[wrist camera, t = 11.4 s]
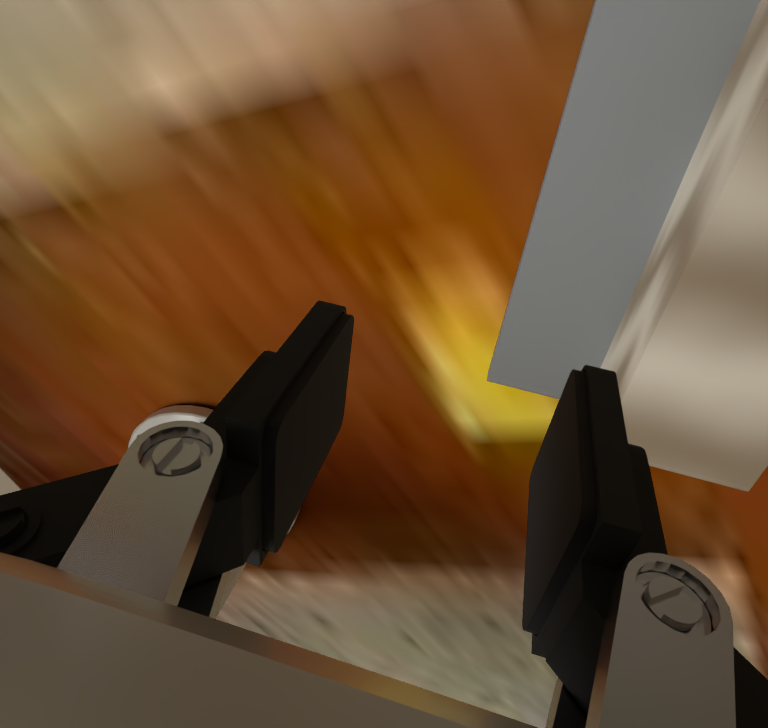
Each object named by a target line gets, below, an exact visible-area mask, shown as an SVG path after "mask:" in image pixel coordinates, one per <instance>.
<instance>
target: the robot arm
mask: <svg viewBox="0 0 768 728" xmlns="http://www.w3.org/2000/svg"><path fill="white" fill-rule="evenodd" d="M353 325H354V317H353V316H352V315H348V314H346V308H345V307H344V306H340V305H336V304H332V303H328V302H323V301H318V302H317V303H316V304H315V305H314V307H313V308H312V309H311V310H310V311H309V313H308V314H307V315H306V316H305V318H304V319H303V320H302V321H301V323H300V324H299V325H298V326H297V328H296V329H295V330H294V331H293V333H292V334H291V335H290V336H289V338H288V339H287V340H286V341H285V343H284V344H283V345H282V346H281V348H280V349H279V350H278V351H277V352H276V353H275V352H272V351H264V352H263V353H262V354H261V355H260V356H259V357H258V358H257V359H256V361H255V362H254V363H253V364H252V365H251V366H250V368H249V369H248V370H247V371H246V372H245V374H244V375H243V376H242V377H241V378H240V379H239V381H238V382H237V383H236V384H235V385H234V387H233V388H232V389H231V390H230V391H229V392H228V394H227V395H226V396H225V397H224V398H223V400H222V401H221V402H220V403H219V404H218V405H217V407H216V408H215V409H214V410H212V409H209V408H205V407H199V406H192V405H175V406H170V407H166V408H162V409H160V410H158V411H156V412H154V413H152V414H150V415H149V416H148V417H147V418H146V419H145V420H144V421H143V422H142V423H140V424H139V425H138V427H137V428H136V429H135V430H134V431H133V433H132V435H131V438H130V441H129V444H128V450H127V452H126V453H125V455H124V457H123V458H122V460H121V462H120V463H119V464H118V465H114V466H110V467H106V468H103V469H99V470H95V471H91V472H87V473H84V474H80V475H76V476H72V477H69V478H65V479H61V480H57V481H53V482H50V483H46V484H42V485H38V486H35V487H31V488H27V489H23V490H19V491H16V492H12V493H8V494H4V495H0V728H537V727H534V726H531V725H529V724H526V723H523V722H520V721H517V720H514V719H511V718H508V717H505V716H502V715H499V714H496V713H493V712H490V711H488V710H485V709H482V708H479V707H476V706H473V705H470V704H467V703H464V702H461V701H458V700H455V699H452V698H449V697H446V696H443V695H440V694H437V693H434V692H431V691H428V690H425V689H422V688H420V687H417V686H414V685H411V684H408V683H405V682H402V681H399V680H396V679H393V678H390V677H387V676H384V675H381V674H378V673H375V672H372V671H369V670H366V669H363V668H360V667H357V666H354V665H351V664H348V663H345V662H342V661H339V660H336V659H333V658H330V657H327V656H324V655H321V654H318V653H315V652H312V651H309V650H306V649H303V648H300V647H297V646H294V645H291V644H288V643H285V642H282V641H279V640H276V639H273V638H271V637H268V636H265V635H261V634H258V633H255V632H252V631H249V630H246V629H243V628H240V627H237V626H234V625H231V624H228V623H225V622H222V621H219V620H216V618H217V616H218V614H219V612H220V610H221V609H222V607H223V605H224V603H225V601H226V600H227V598H228V596H229V594H230V592H231V591H232V589H233V587H234V585H235V583H236V582H237V580H238V578H239V576H240V574H241V572H242V571H243V569H244V567H245V565H246V563H249V564H252V565H255V566H258V567H260V566H261V564H262V562H263V560H264V558H265V556H266V554H267V552H268V551H271V552H274V553H276V552H277V551H278V550H279V548H280V547H281V545H282V543H283V541H284V539H285V537H286V535H287V534H288V533H289V532H290V530H291V528H292V526H293V525H294V523H295V521H296V519H297V516H298V514H299V511H300V507H301V505H302V503H303V501H304V499H305V498H306V496H307V494H308V492H309V490H310V488H311V486H312V484H313V482H314V480H315V478H316V476H317V474H318V472H319V470H320V468H321V466H322V464H323V462H324V460H325V458H326V456H327V454H328V452H329V450H330V448H331V446H332V444H333V442H334V440H335V438H336V436H337V434H338V432H339V430H340V428H341V425H342V421H343V416H344V408H345V399H346V389H347V380H348V371H349V362H350V352H351V343H352V334H353ZM522 626H523V630H524V631H527V632H531V633H532V654H535V655H538V656H541V657H545V658H546V662H547V663H548V665H549V666H550V667H551V668H552V670H553V671H554V672H555V674H556V675H557V676H558V680H557V682H556V686H555V690H554V694H553V698H552V702H551V707H550V711H549V715H548V719H547V723H546V727H545V728H768V680H767V679H766V678H765V677H764V676H763V675H762V674H761V673H760V672H759V671H758V670H757V669H756V668H755V667H754V666H753V665H752V664H751V663H750V662H749V661H748V660H746V659H745V658H744V657H743V656H742V655H741V654H740V653H739V652H738V651H737V650H736V649H735V648H734V647H733V622H732V617H731V613H730V608H729V606H728V604H727V603H726V601H725V599H724V597H723V595H722V593H721V592H720V591H719V590H718V589H717V587H716V586H715V585H714V584H713V583H712V582H711V580H710V579H708V578H707V577H706V576H705V575H704V574H702V573H701V572H700V571H699V570H697V569H696V568H695V567H693V566H691V565H689V564H688V563H686V562H684V561H682V560H680V559H678V558H675V557H672V556H669V555H668V554H667V550H666V545H665V540H664V535H663V530H662V526H661V521H660V516H659V511H658V506H657V501H656V497H655V492H654V487H653V482H652V477H651V473H650V468H649V463H648V458H647V454H646V452H645V449H643V448H642V447H640V446H636V445H632V444H628V440H627V434H626V428H625V422H624V416H623V410H622V404H621V399H620V393H619V387H618V381H617V375H616V372H614V371H610V370H606V369H602V368H598V367H593V366H589V365H585V366H584V367H583V368H582V370H581V371H579V370H575V369H573V370H572V371H571V372H570V375H569V377H568V379H567V382H566V384H565V387H564V390H563V392H562V395H561V397H560V400H559V402H558V405H557V407H556V410H555V412H554V415H553V418H552V420H551V423H550V425H549V428H548V430H547V433H546V435H545V438H544V440H543V443H542V446H541V448H540V451H539V453H538V456H537V458H536V461H535V463H534V466H533V469H532V473H531V477H530V484H529V502H528V522H527V541H526V561H525V580H524V600H523V619H522Z"/></svg>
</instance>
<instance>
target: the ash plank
mask: <svg viewBox="0 0 768 728" xmlns="http://www.w3.org/2000/svg"><path fill="white" fill-rule="evenodd" d="M601 368H602V369H606V370H610V371H614V372H616V375H617V381H618V387H619V393H620V399H621V404H622V410H623V416H624V422H625V428H626V434H627V440H628V444H632V445H636V446H640V447H642V448H643V449H645V452H646V454H647V458H648V463H649V466H653V467H656V468H660V469H664V470H668V471H671V472H675V473H679V474H683V475H687V476H690V477H694V478H698V479H702V480H705V481H709V482H713V483H717V484H721V485H724V486H728V487H732V488H736V489H739V490H743V491H747V492H748V491H749V490H750V489H751V487H752V486H753V485H754V483H755V482H756V481H757V479H758V478H759V477H760V475H761V474H762V473H763V471H764V470H765V469H766V467H767V466H768V0H760V2H759V4H758V7H757V9H756V11H755V14H754V16H753V18H752V21H751V23H750V25H749V27H748V30H747V32H746V34H745V37H744V39H743V41H742V44H741V46H740V48H739V51H738V53H737V55H736V57H735V60H734V62H733V64H732V67H731V69H730V71H729V74H728V76H727V78H726V80H725V83H724V85H723V87H722V90H721V92H720V94H719V97H718V99H717V101H716V103H715V106H714V108H713V110H712V113H711V115H710V117H709V120H708V122H707V124H706V126H705V129H704V131H703V133H702V136H701V138H700V140H699V143H698V145H697V147H696V150H695V152H694V154H693V156H692V159H691V161H690V163H689V166H688V168H687V170H686V173H685V175H684V177H683V179H682V182H681V184H680V186H679V189H678V191H677V193H676V196H675V198H674V200H673V202H672V205H671V207H670V209H669V212H668V214H667V216H666V219H665V221H664V223H663V225H662V228H661V230H660V232H659V235H658V237H657V239H656V242H655V244H654V246H653V249H652V251H651V253H650V255H649V258H648V260H647V262H646V265H645V267H644V269H643V272H642V274H641V276H640V278H639V281H638V283H637V285H636V288H635V290H634V292H633V295H632V297H631V299H630V301H629V304H628V306H627V308H626V311H625V313H624V315H623V318H622V320H621V322H620V325H619V327H618V329H617V331H616V334H615V336H614V338H613V341H612V343H611V345H610V348H609V350H608V352H607V354H606V357H605V359H604V361H603V364H602V366H601Z"/></svg>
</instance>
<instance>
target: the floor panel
mask: <svg viewBox="0 0 768 728" xmlns="http://www.w3.org/2000/svg"><path fill="white" fill-rule="evenodd" d="M759 2H760V0H595V2H594V5H593V9H592V12H591V16H590V19H589V23H588V26H587V30H586V33H585V37H584V40H583V44H582V47H581V51H580V54H579V58H578V61H577V65H576V68H575V72H574V75H573V79H572V82H571V85H570V89H569V92H568V96H567V99H566V103H565V106H564V110H563V113H562V117H561V120H560V124H559V127H558V131H557V134H556V138H555V141H554V145H553V148H552V152H551V155H550V159H549V162H548V166H547V169H546V173H545V176H544V179H543V183H542V186H541V190H540V193H539V197H538V200H537V204H536V207H535V211H534V214H533V218H532V221H531V225H530V228H529V232H528V235H527V239H526V242H525V246H524V249H523V253H522V256H521V260H520V263H519V266H518V270H517V273H516V277H515V280H514V284H513V287H512V291H511V294H510V298H509V301H508V305H507V308H506V312H505V315H504V319H503V322H502V326H501V329H500V333H499V336H498V340H497V343H496V347H495V350H494V353H493V357H492V360H491V364H490V367H489V371H488V377H487V381H490V382H493V383H497V384H501V385H505V386H509V387H513V388H517V389H521V390H525V391H529V392H533V393H537V394H541V395H545V396H549V397H553V398H557V399H560V397H561V395H562V392H563V390H564V387H565V384H566V382H567V379H568V377H569V375H570V372H571V371H572V370H573V369H575V370H579V371H581V370H582V368H583V367H584V366H585V365H589V366H593V367H598V368H601V366H602V364H603V361H604V359H605V357H606V354H607V352H608V350H609V348H610V345H611V343H612V341H613V338H614V336H615V334H616V331H617V329H618V327H619V325H620V322H621V320H622V318H623V315H624V313H625V311H626V308H627V306H628V304H629V301H630V299H631V297H632V295H633V292H634V290H635V288H636V285H637V283H638V281H639V278H640V276H641V274H642V272H643V269H644V267H645V265H646V262H647V260H648V258H649V255H650V253H651V251H652V249H653V246H654V244H655V242H656V239H657V237H658V235H659V232H660V230H661V228H662V225H663V223H664V221H665V219H666V216H667V214H668V212H669V209H670V207H671V205H672V202H673V200H674V198H675V196H676V193H677V191H678V189H679V186H680V184H681V182H682V179H683V177H684V175H685V173H686V170H687V168H688V166H689V163H690V161H691V159H692V156H693V154H694V152H695V150H696V147H697V145H698V143H699V140H700V138H701V136H702V133H703V131H704V129H705V126H706V124H707V122H708V120H709V117H710V115H711V113H712V110H713V108H714V106H715V103H716V101H717V99H718V97H719V94H720V92H721V90H722V87H723V85H724V83H725V80H726V78H727V76H728V74H729V71H730V69H731V67H732V64H733V62H734V60H735V57H736V55H737V53H738V51H739V48H740V46H741V44H742V41H743V39H744V37H745V34H746V32H747V30H748V27H749V25H750V23H751V21H752V18H753V16H754V14H755V11H756V9H757V7H758V4H759Z"/></svg>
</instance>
